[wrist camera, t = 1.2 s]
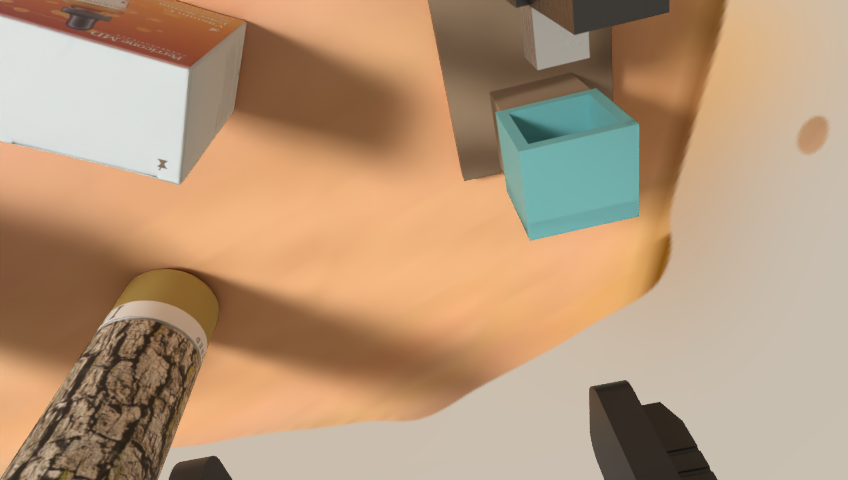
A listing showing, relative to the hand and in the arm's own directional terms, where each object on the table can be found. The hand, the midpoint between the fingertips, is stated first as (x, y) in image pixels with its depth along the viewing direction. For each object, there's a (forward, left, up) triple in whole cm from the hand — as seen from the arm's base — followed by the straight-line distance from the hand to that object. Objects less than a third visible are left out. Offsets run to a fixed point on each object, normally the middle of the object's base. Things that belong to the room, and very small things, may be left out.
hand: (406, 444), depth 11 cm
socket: (+4, +9, -21) cm, 23 cm away
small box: (-5, -11, -26) cm, 29 cm away
